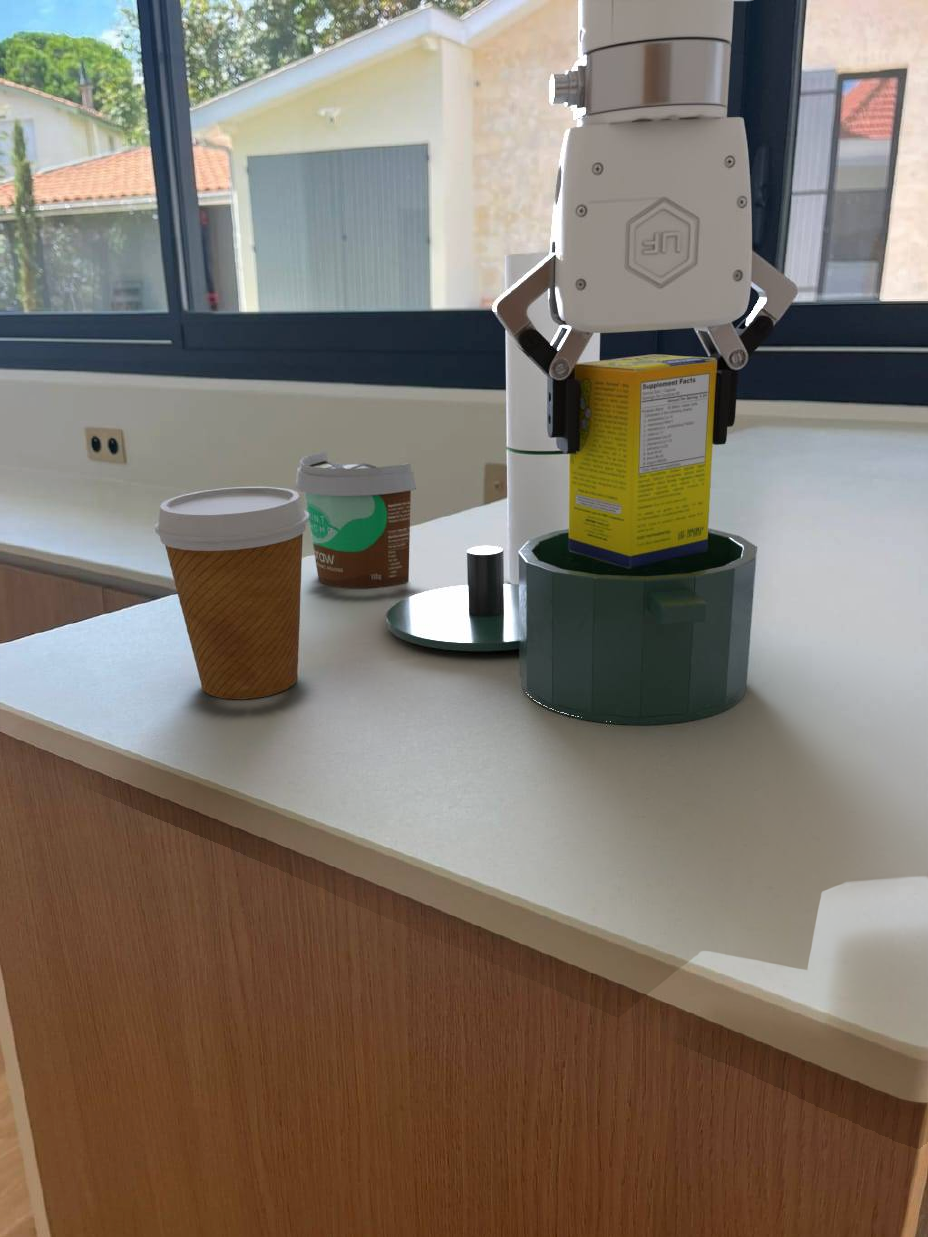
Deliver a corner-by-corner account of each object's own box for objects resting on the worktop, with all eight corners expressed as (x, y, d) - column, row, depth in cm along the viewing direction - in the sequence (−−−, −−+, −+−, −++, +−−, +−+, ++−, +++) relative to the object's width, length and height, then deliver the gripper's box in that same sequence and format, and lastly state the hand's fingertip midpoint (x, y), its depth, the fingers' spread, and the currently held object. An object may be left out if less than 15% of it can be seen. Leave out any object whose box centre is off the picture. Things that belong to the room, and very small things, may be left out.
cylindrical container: (604, 570, 94) (612, 248, 84) (581, 593, 88) (587, 249, 78) (523, 565, 96) (522, 253, 87) (496, 587, 90) (491, 255, 81)
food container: (275, 575, 98) (264, 461, 94) (330, 561, 101) (322, 450, 97) (363, 601, 89) (355, 475, 85) (420, 584, 92) (415, 463, 89)
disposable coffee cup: (352, 677, 72) (339, 494, 68) (236, 721, 66) (213, 523, 62) (261, 649, 79) (244, 479, 74) (148, 687, 73) (121, 505, 68)
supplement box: (641, 536, 69) (648, 352, 65) (709, 553, 65) (721, 357, 60) (564, 551, 67) (566, 361, 63) (629, 571, 62) (636, 367, 58)
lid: (561, 592, 88) (561, 521, 86) (612, 650, 75) (614, 567, 73) (378, 606, 87) (374, 535, 85) (397, 667, 74) (393, 584, 72)
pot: (691, 629, 78) (697, 508, 75) (801, 734, 60) (816, 582, 57) (499, 642, 77) (497, 522, 74) (554, 752, 60) (554, 601, 57)
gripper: (494, 93, 53) (498, 466, 60) (852, 74, 53) (816, 446, 60) (473, 113, 60) (479, 445, 67) (790, 96, 60) (764, 428, 67)
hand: (639, 443), depth 63 cm, fingers closed on supplement box, 7 cm apart
